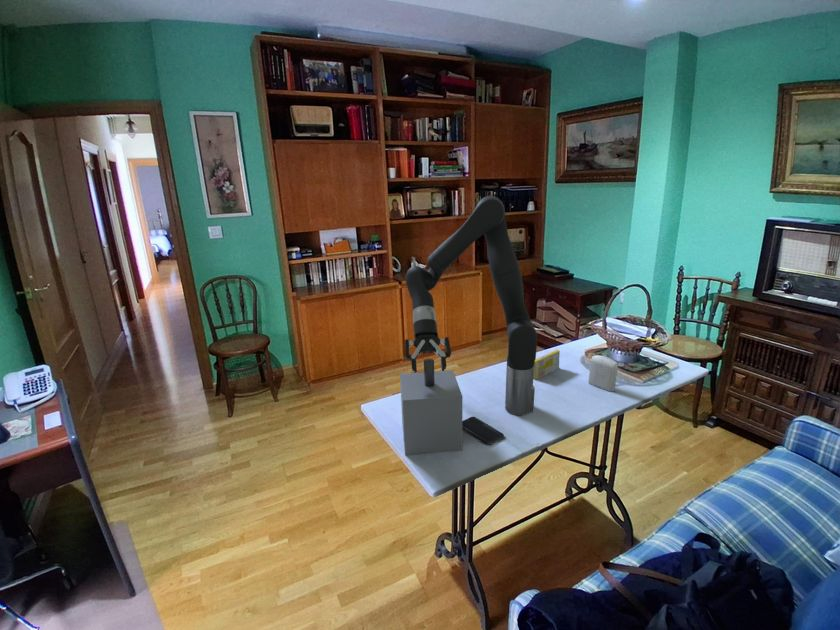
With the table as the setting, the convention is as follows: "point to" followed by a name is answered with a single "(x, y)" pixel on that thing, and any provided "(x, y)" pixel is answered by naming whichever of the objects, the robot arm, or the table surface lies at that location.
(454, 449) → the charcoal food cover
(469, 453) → the table surface
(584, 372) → the table surface
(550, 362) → the candy box
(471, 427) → the black smartphone
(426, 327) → the robot arm
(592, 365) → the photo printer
